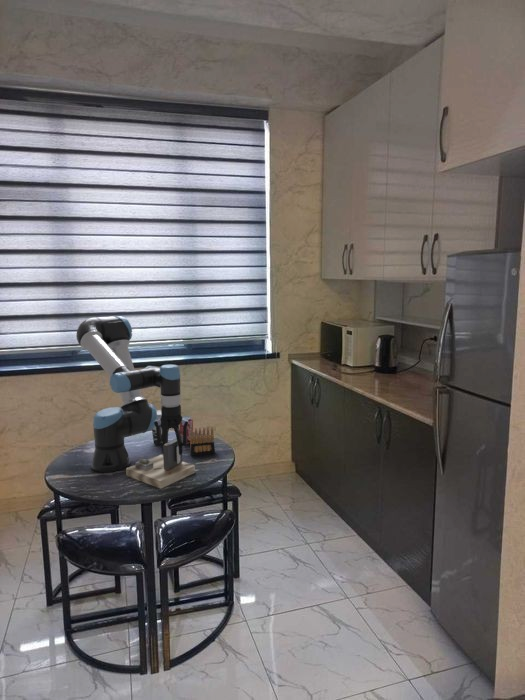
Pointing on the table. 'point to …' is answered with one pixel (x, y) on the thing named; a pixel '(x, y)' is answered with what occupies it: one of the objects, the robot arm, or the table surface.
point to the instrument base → (158, 472)
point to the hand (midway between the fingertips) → (172, 461)
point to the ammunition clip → (202, 442)
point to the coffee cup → (161, 428)
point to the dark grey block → (170, 454)
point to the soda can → (189, 427)
